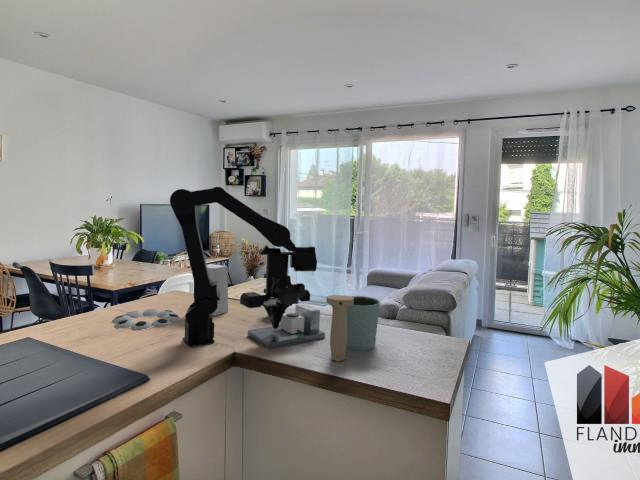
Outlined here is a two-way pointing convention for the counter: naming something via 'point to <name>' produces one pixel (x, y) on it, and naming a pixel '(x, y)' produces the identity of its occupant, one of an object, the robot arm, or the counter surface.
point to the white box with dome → (292, 323)
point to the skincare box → (220, 286)
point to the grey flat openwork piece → (127, 318)
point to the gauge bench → (283, 338)
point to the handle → (339, 325)
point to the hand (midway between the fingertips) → (275, 328)
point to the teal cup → (362, 323)
